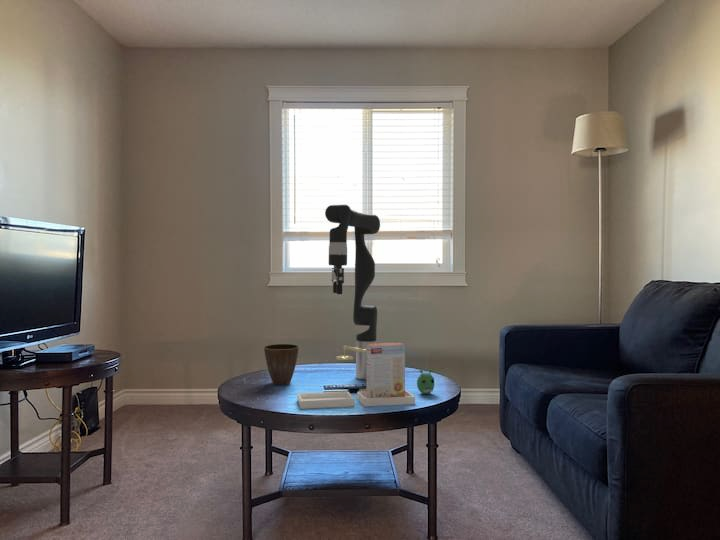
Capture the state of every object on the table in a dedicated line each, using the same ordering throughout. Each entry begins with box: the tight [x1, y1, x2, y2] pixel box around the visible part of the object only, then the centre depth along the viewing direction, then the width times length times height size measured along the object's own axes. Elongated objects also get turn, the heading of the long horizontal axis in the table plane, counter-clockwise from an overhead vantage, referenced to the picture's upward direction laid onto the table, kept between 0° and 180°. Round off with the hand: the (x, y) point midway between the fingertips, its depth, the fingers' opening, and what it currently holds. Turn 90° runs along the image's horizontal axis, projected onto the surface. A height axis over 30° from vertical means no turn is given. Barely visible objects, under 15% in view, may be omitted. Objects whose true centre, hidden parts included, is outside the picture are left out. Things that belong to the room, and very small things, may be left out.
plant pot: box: [263, 343, 300, 386], centre depth 226 cm, size 15×15×16 cm
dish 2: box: [356, 389, 416, 407], centre depth 198 cm, size 12×20×3 cm, turn 102°
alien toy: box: [416, 368, 435, 395], centre depth 210 cm, size 7×8×10 cm
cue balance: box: [335, 345, 366, 392], centre depth 209 cm, size 7×27×20 cm, turn 102°
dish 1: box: [297, 390, 355, 410], centre depth 194 cm, size 12×20×3 cm, turn 102°
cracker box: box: [365, 342, 406, 398], centre depth 198 cm, size 14×6×21 cm, turn 108°
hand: (337, 293), depth 212 cm, fingers open, 8 cm apart
